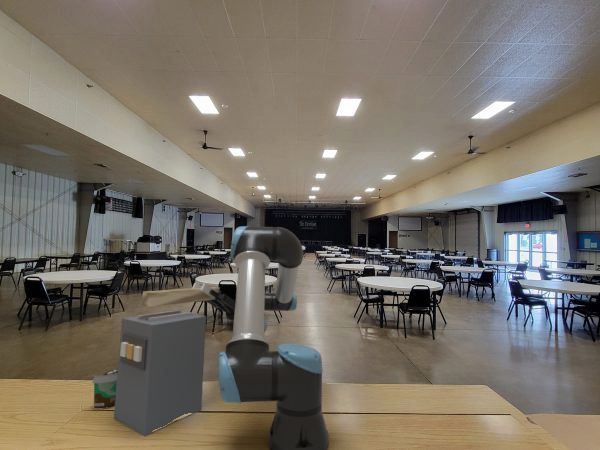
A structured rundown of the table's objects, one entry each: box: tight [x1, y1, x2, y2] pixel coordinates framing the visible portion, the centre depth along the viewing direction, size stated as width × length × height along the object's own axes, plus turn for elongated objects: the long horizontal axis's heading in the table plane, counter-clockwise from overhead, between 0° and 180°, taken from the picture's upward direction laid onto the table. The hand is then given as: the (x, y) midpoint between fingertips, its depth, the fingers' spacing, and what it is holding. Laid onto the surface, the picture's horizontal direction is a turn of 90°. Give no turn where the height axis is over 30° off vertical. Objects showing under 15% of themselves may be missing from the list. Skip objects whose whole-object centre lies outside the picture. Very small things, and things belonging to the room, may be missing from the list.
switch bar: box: [141, 286, 220, 308], centre depth 102 cm, size 4×26×4 cm, turn 146°
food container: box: [92, 368, 118, 409], centre depth 100 cm, size 12×6×10 cm, turn 168°
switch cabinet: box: [113, 309, 207, 437], centre depth 94 cm, size 16×19×29 cm
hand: (198, 286), depth 107 cm, fingers closed on switch bar, 4 cm apart
